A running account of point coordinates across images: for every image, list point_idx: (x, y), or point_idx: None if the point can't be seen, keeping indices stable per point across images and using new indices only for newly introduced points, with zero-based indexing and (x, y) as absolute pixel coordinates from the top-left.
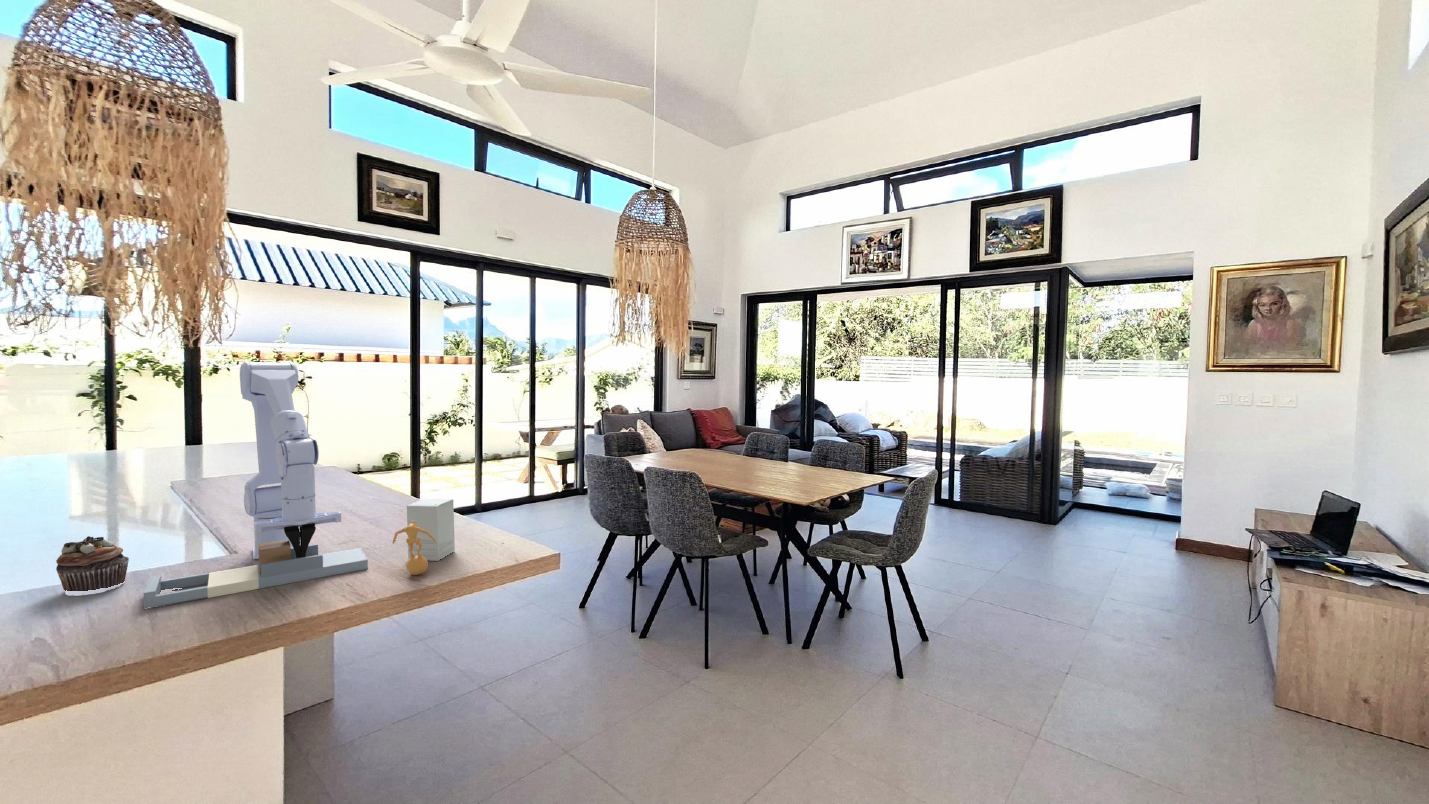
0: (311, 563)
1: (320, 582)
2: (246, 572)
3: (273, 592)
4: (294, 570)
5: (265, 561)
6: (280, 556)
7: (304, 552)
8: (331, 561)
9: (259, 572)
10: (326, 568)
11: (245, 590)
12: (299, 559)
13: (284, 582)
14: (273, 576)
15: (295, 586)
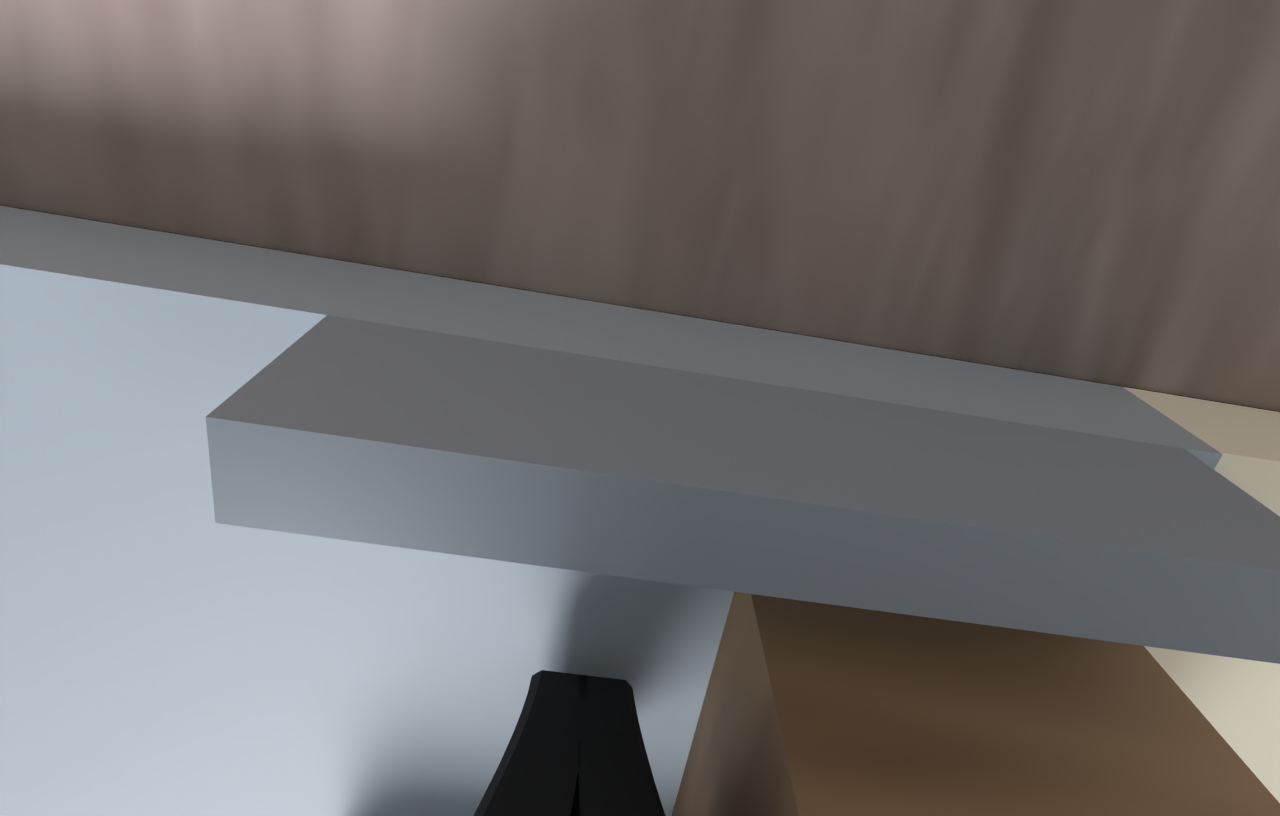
0: (486, 384)
1: (459, 8)
2: None
3: (1098, 63)
4: (761, 396)
5: (1166, 763)
6: (961, 784)
7: (518, 789)
8: (183, 530)
9: None
10: (286, 293)
11: (1259, 409)
12: (698, 482)
13: (855, 353)
14: (1032, 423)
15: (790, 111)
